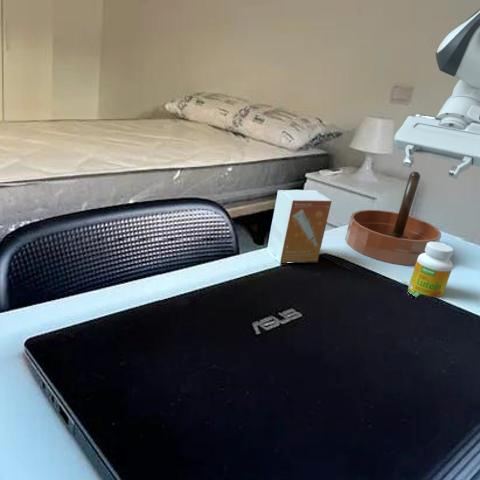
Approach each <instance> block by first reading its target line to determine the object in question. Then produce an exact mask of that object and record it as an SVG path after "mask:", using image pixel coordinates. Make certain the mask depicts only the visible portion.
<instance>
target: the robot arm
mask: <svg viewBox="0 0 480 480" xmlns="http://www.w3.org/2000/svg"><path fill="white" fill-rule="evenodd" d="M435 59H436V64H437V67H438V69H439V71H440V72H441V73H444V74H447V75H449V76H452V77H456V78H457V79H459V80H458V81H457V82H456V84H455V86H454V87H453V90H452V93H451V96H449V97H448V99H446V101H445V102H444V103H443V105H442V107H441V108H440V110H439V112H438V113H437V115H436V116H435V115H426V114H422V113H416V114H412V115H408V116H407V117H406V119H405V120H404V122H403V124H402V125H401V127H400V128H399V129H397V131H396V133H395V134H394V137H393V142H394V146H395V148H396V149H398V150H402V151H405V158H404V159H403V161H402V165H403V167H407V168H412V167H413V164H414V163H415V160H414V157H413V155H414V154H415V153H417V154H419V155H424V156H429V157H434V158H438V159H443V160H448V161H451V162H456V163H460V164H459V165H457V166H454V165H452V166H451V168H450V170H449V171H448V177H449V178H452V179H456V180H457V179H458V178H459V175H460V174H462V173H463V172H465V171H467V170H470V168H471V167H472V166H475V167H479V168H480V8H478V9H477V10H476V11H475V12H474V13H473V14H471V16H470V17H468V18H466V19H465V21H463V22H462V23H461V24H460V25H458V26H457V27H456V28H454V29H453V30H452V31H450V32H449V33H448V34H447V35H446V36H445V37H444V38H443V40H442V41H441V42H440V43H439V46H438V48H437V50H436V52H435Z"/></svg>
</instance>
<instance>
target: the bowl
mask: <svg viewBox="0 0 480 480" xmlns="http://www.w3.org/2000/svg"><path fill="white" fill-rule="evenodd" d="M398 214H399V212H395V211H388V210H381V209H361V210H357V211H354V212H353V213H351V215H350V218H349V222H348V225H347V229H346V234H345V238H344V239H345V242H346V244H347V246H349V247H350V248H351V249H352V250H354V251H356V252H358V253H359V254H361V255H363V256H366V257H369V258H371V259H374V260H377V261H380V262H385V263H388V264H393V265H394V264H395V265H400V266H414V267H415V264H416V261H417V259H418V256H419V255H420V254H422V253H426V252H425V248H426V245H427V243H428V242H440V241H441V239H442V232H441V231H440V229H438V228H437V227H436V226H434V225H433V224H431V223H429V222H427V221H425V220H423V219H420V218H418V217H414V216H410V215H409V217H408V220H407V224H406V227H405V230H404V234H403V235H404V236H406V237H408V238H409V239H410V240H409V239H402V238H396V237H392V236H387V235H384V234H385V233H393V231H394V228H395V224H396V221H397V217H398Z"/></svg>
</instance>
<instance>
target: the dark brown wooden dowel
mask: <svg viewBox="0 0 480 480" xmlns="http://www.w3.org/2000/svg"><path fill="white" fill-rule="evenodd" d="M420 179H421V174H420V173H419V172H418V171H412V172H410V174H409V175H408V179H407V183H406V186H405V190H404V193H403V196H402V200H401V204H400V207H399V211H398V213H399V214H398V217H397V221H396V224H395V228H394V231H393V233H385V234H384V235H387V236H392V237H396V238H402V239H409V238H408V237H406V236H404V235H403V234H404V230H405V227H406V224H407V220H408V217H409V216H410V214H411V210H412V206H413V203H414V200H415V196H416V193H417V189H418V185H419V182H420ZM409 240H410V239H409Z"/></svg>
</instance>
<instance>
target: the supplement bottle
mask: <svg viewBox="0 0 480 480" xmlns="http://www.w3.org/2000/svg"><path fill="white" fill-rule="evenodd" d="M425 252H426V253H422V254H420V255H419V256H418V259H417V261H416V264H415V266H414V268H413V272H412V275H411V277H410V281H409V283H408V286H407V291H408V292H409V293H410V294H412V295H413V296H415V297H416V298H418V297H419V296H420V295H422V296H426V297H431V298H439V297H443V295H444V293H445V290H446V287H447V284H448V281H449V278H450V275H451V273H452V270H453V267H454V265H453V262H452V260H451V258H452V255H453V253H454V248H453V247H452V246H451V245H449V244H446V243H443V242H440V241H439V242H428V243H427V245H426V248H425ZM408 292H407V293H408Z"/></svg>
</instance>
